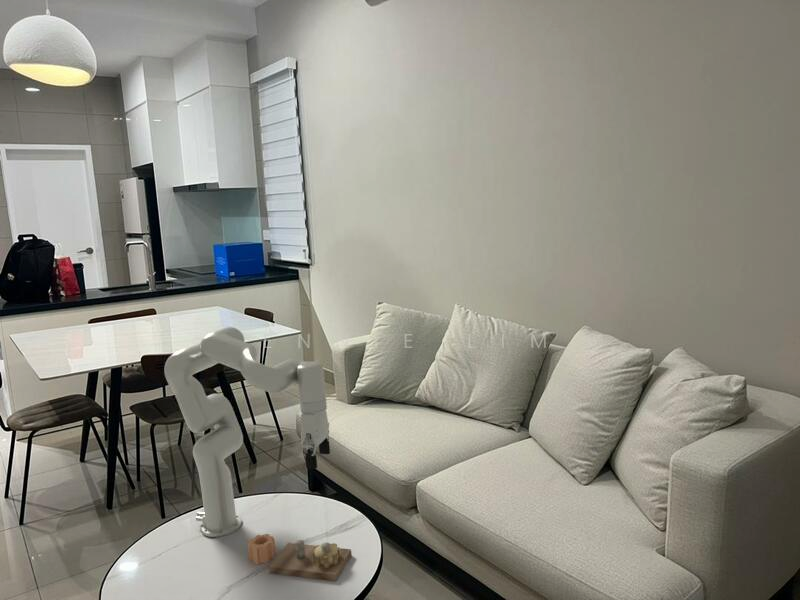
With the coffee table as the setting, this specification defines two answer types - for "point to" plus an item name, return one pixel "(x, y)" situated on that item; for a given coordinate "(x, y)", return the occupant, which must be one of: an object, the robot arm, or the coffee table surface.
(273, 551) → the loose gear
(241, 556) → the coffee table surface
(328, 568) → the gear board
